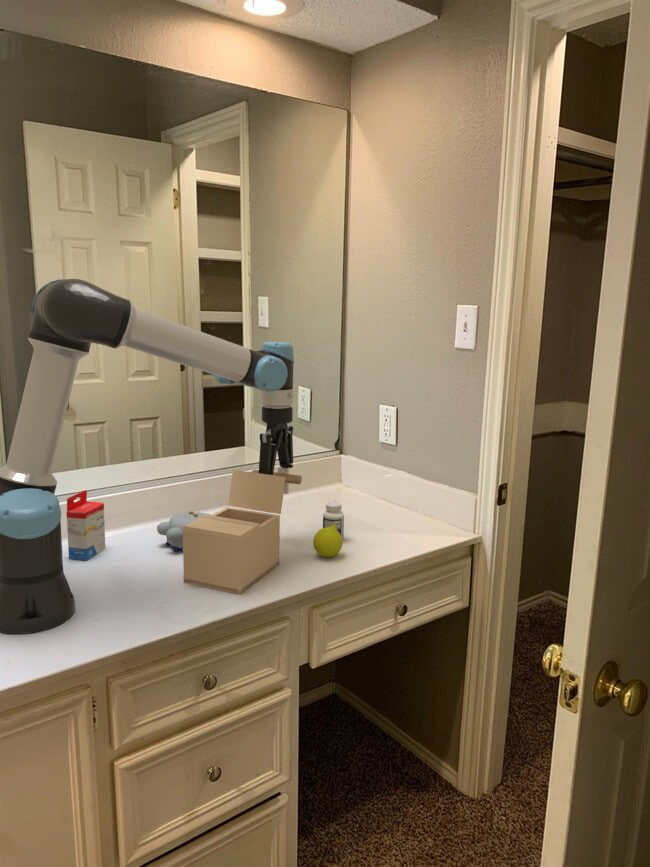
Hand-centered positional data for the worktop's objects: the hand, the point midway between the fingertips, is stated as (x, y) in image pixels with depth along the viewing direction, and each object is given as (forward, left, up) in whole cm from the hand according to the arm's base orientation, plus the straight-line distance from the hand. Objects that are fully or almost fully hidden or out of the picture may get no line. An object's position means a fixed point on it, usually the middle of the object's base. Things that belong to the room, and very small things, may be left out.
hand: (276, 496), depth 164 cm
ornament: (-2, -15, -13) cm, 20 cm away
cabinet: (-21, 0, -12) cm, 24 cm away
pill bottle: (+9, -12, -13) cm, 20 cm away
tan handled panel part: (-11, 0, +4) cm, 12 cm away
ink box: (-26, +37, -13) cm, 47 cm away
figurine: (-8, +17, -13) cm, 23 cm away
